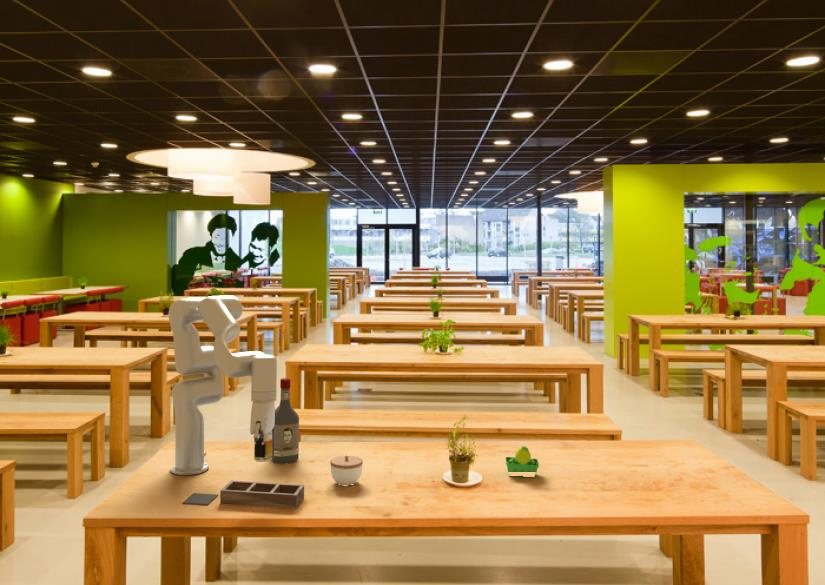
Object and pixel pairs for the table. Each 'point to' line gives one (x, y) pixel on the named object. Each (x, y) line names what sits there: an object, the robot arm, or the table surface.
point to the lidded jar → (346, 469)
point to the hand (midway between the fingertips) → (263, 453)
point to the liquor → (285, 429)
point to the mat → (200, 499)
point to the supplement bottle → (268, 449)
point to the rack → (262, 494)
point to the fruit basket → (522, 461)
